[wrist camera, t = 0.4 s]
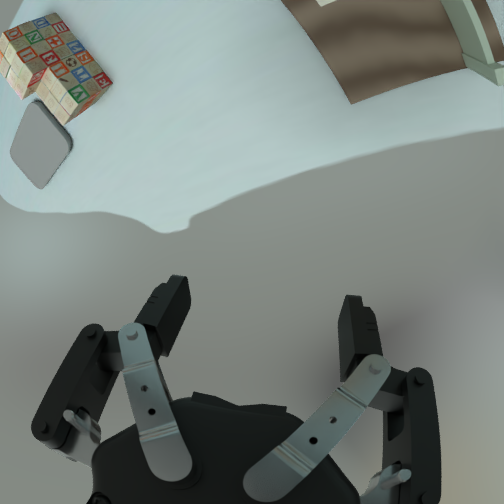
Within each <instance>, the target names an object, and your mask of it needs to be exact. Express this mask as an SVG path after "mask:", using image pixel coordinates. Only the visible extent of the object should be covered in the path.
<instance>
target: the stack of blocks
mask: <svg viewBox="0 0 504 504" xmlns="http://www.w3.org/2000/svg"><path fill="white" fill-rule="evenodd" d="M0 72H1V74H2V75H3V76H4V78H6V80H7V81H8V83H9V84H10V85H11V87H12V88H13V89H14V90H15V92H16V93H17V94H18V96H19V97H20V98H21V99H22V100H23V99H24V98H26V97H28V96H29V95H31V94H32V93H34V92H36V93H37V95H38V96H39V97H40V98H41V100H42V101H43V102H44V104H45V105H46V106H47V108H48V109H49V110H50V111H51V113H52V114H54V116H55V117H56V118H57V119H58V121H59V122H60V123H61V124H62V125H63V126H64V125H65V124H67V123H68V122H69V121H71V120H72V119H73V118H75V117H77V116H78V115H79V114H81V113H82V112H83V111H85V110H86V109H87V108H89V107H90V106H92V105H93V104H95V103H96V102H97V100H98V99H99V98H100V97H101V96H102V95H103V94H104V93H105V92H106V91H107V90H108V88H109V87H110V86H111V85H112V84H113V83H112V82H111V81H110V79H109V78H108V77H107V76H106V75H105V73H104V72H103V70H102V69H101V68H100V66H99V65H98V64H97V63H96V62H95V61H94V59H93V58H92V57H91V55H90V54H89V53H88V52H87V50H85V48H84V47H83V46H82V45H81V43H80V42H79V41H78V40H77V39H76V37H75V36H74V35H73V34H72V33H71V31H70V30H69V28H68V27H67V26H66V25H65V23H64V22H63V21H62V20H61V18H60V17H59V16H58V15H57V13H53V14H50V15H47V16H44V17H41V18H38V19H35V20H32V21H29V22H26V23H23V24H20V25H18V26H17V27H15V28H12V29H10V30H7V31H5V32H3V33H2V36H1V38H0Z"/></svg>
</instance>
